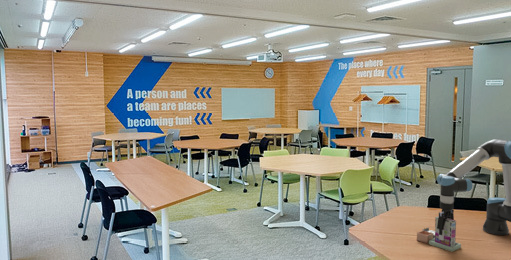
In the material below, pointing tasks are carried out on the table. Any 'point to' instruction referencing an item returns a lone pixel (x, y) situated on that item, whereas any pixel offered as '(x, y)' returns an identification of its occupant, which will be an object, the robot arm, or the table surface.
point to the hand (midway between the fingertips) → (445, 238)
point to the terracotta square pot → (424, 236)
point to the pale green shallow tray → (457, 245)
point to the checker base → (427, 230)
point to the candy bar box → (446, 232)
